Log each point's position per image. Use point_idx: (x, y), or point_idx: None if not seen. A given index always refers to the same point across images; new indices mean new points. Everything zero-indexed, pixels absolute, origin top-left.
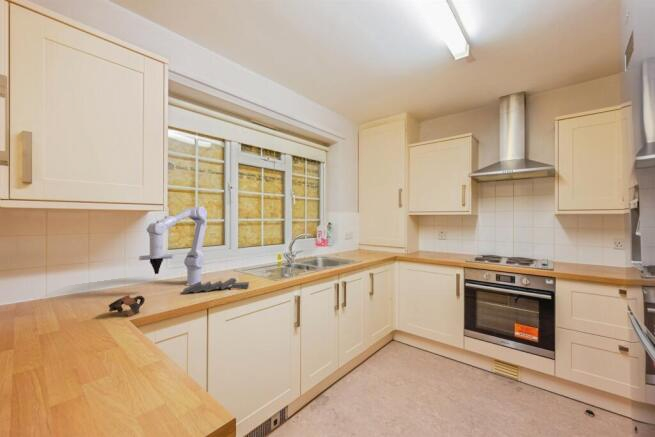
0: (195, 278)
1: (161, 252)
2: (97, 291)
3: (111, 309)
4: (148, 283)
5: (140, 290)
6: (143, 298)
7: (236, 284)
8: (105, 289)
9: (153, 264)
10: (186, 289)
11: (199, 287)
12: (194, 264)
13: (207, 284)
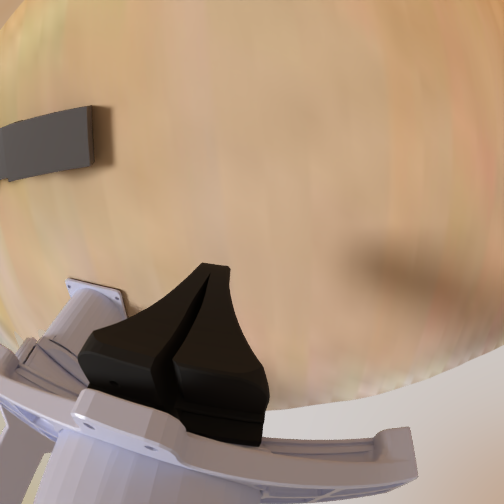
0: (72, 304)
1: (43, 477)
2: (451, 350)
3: None
4: (291, 390)
5: (327, 307)
6: None
7: None
8: (427, 365)
9: (216, 335)
10: (68, 119)
11: None
12: (29, 351)
13: None
